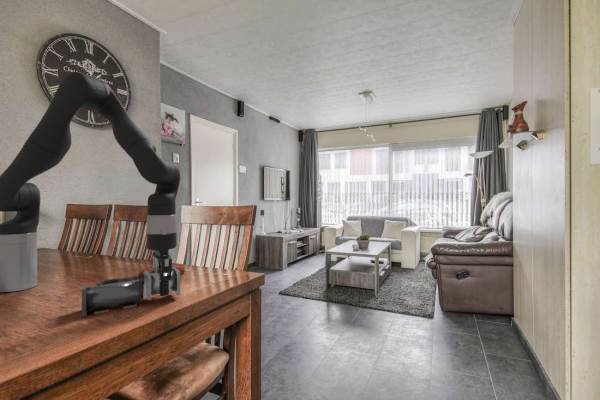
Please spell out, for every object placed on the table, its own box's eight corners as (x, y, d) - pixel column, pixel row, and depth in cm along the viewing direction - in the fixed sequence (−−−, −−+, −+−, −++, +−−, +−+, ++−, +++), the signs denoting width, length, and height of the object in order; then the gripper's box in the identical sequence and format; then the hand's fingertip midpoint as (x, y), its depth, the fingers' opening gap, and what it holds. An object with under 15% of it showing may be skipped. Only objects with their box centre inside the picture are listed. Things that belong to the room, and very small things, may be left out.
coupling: (174, 288, 86) (174, 267, 86) (180, 294, 81) (180, 271, 81) (144, 293, 82) (144, 270, 82) (147, 300, 76) (147, 275, 76)
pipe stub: (81, 317, 68) (81, 290, 68) (82, 309, 74) (82, 283, 74) (143, 306, 76) (143, 281, 76) (140, 299, 81) (140, 276, 81)
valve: (184, 277, 112) (185, 281, 99) (104, 289, 102) (93, 295, 88) (183, 260, 113) (184, 262, 99) (104, 270, 103) (92, 273, 89)
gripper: (142, 230, 85) (143, 288, 85) (151, 234, 73) (151, 302, 73) (170, 228, 89) (170, 284, 89) (182, 232, 78) (182, 296, 78)
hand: (161, 292), depth 81 cm, fingers closed on coupling, 5 cm apart
